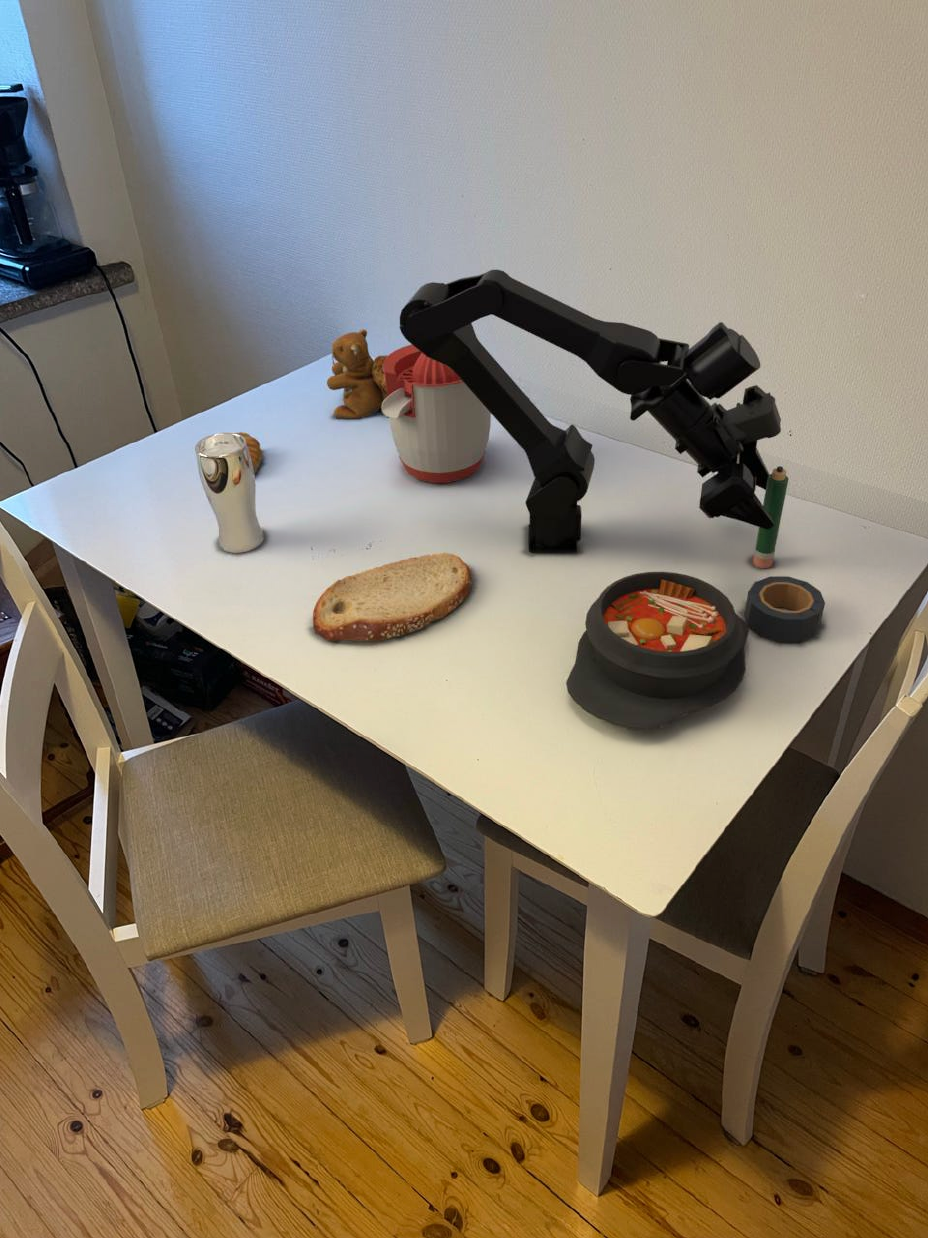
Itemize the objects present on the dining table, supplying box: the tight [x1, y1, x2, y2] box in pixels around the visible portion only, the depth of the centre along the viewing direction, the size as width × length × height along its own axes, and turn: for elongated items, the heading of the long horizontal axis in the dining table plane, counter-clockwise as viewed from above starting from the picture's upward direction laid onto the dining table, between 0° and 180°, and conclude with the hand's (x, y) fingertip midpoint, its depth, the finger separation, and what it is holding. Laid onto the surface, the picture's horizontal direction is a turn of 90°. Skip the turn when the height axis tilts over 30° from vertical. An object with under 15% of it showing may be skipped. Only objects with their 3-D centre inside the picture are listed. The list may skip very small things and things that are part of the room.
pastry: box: [235, 431, 263, 474], centre depth 148 cm, size 9×7×4 cm
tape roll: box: [744, 575, 826, 644], centre depth 113 cm, size 8×8×4 cm
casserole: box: [565, 571, 750, 731], centre depth 106 cm, size 25×19×8 cm
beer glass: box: [194, 432, 265, 554], centre depth 128 cm, size 7×7×15 cm
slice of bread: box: [312, 552, 473, 643], centre depth 119 cm, size 18×18×4 cm
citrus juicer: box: [381, 343, 492, 485], centre depth 140 cm, size 16×17×20 cm
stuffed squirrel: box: [326, 328, 388, 419], centre depth 160 cm, size 10×14×13 cm
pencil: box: [752, 465, 789, 569], centre depth 119 cm, size 2×2×14 cm
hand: (771, 507), depth 118 cm, fingers open, 9 cm apart
